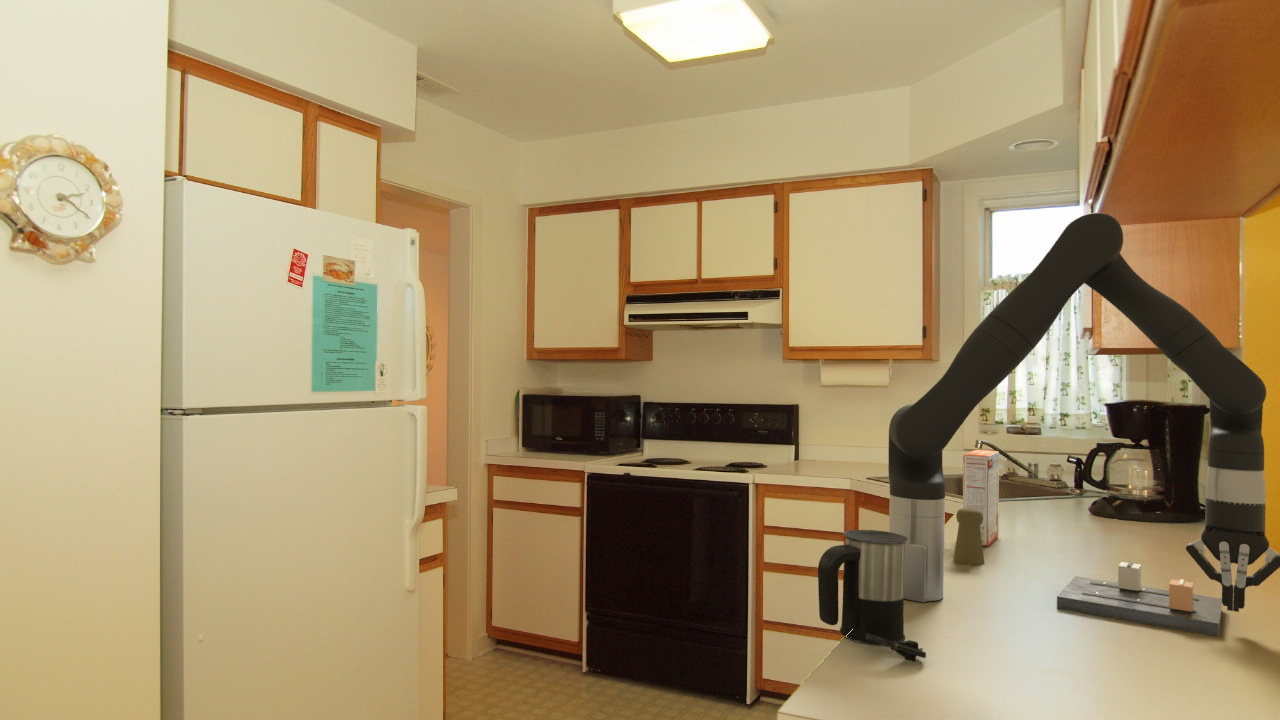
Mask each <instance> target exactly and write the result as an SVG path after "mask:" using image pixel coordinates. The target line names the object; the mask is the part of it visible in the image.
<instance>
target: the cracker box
mask: <svg viewBox="0 0 1280 720" xmlns="http://www.w3.org/2000/svg"><path fill="white" fill-rule="evenodd" d="M962 456H963V458H962V460H963V462H962V463H963V464H962V465H963V467H962V468H963V469H962V470H963V471H962V472H963V473H962V475H963V476H962V477H963V481H962V483H963V485H962V486H963V487H962V488H963V489H962V490H963V491H962V493H963V498H962V499H963V500H962V503H963V504H962V508H973V509H977V510H980V511H981V512H982V514H983V522H982V524H981V525H980V530H981V538H982V547H990V545H992V543H994V542H995V540H996V539H997V538H998V537H999V532H1000V531H999V529H1000V528H999V520H1000V519H999V517H1000V516H999V515H1000V514H999V513H1000V510H999V508H1000V507H999V505H1000V503H999V502H1000V501H999V495H1000V494H999V493H1000V492H999V490H1000V489H999V487H1000V483H999V482H1000V480H999V479H1000V477H999V476H1000V451H998V450H986V449H975V450H972V451H969V452H967V453H964V454H963V455H962Z"/></svg>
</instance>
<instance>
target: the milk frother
mask: <svg viewBox="0 0 1280 720" xmlns="http://www.w3.org/2000/svg"><path fill="white" fill-rule="evenodd" d="M842 534H843V535H844V536H845V544H840V545H833V546H831V547H829V548H828V549H826V550H825V551H824V552H823V554H822V555H821V556H820V559H819V561H818V567H817V579H818V580H817V582H818V585H817V587H818V613H819V619H820V621H821V622H822V623H824V624H827V625H829V626H836V625H838V622H839V615H840V614H839V572H840V571H839V570H840V569H841V567H842V565H843V564H844V567H843V584H842V585H843V588H842V589H843V590H842V593H843V594H842V607H841V608H842V609H841V610H842V611H841V612H842V613H841V626H840V627H839V631H840V634H841V635H842V636H843V637H845V636H846V635H847V634H848V633H849V632H850V631H851V630H852V629H853V630H852V631H851V632H850V633H849V634H848V635H847V637H846V638H847V639H848V640H851V641H854V642H857V643H861V644H866V645H874V646H884V647H887V648H890V649H891V651H894V652H895V653H896V654H898V655H899V656H901V657H903V658H904V660H905V661H909V662H913V663H914V662H916V659H917V657H919V658H923V659H926V657H927V652H926V651H924V649H923V647H919V643H918V641H914V640H907V641H906V635H905V631H904V629H905V628H904V617H905V616H904V608H905V607H904V605H905V603H904V600H905V599H904V573H905V542H906V541H907V540H908V538H907V537H905V536H903V535H899V534H896V533H891V532H889V531H887V530H885V531H884V530H876V529H875V530H874V529H851V530H846V531H844V532H843V533H842Z"/></svg>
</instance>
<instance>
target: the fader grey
mask: <svg viewBox="0 0 1280 720" xmlns="http://www.w3.org/2000/svg"><path fill="white" fill-rule="evenodd" d="M1117 568H1118V577H1117V578H1118V579H1117V580H1118V581H1117V583H1118V588H1123V589H1129V590H1136V591H1139V589H1140V587H1141V586H1142V564H1140V563H1134V562H1133V561H1129V562H1125V561H1121V562H1120V563H1119V565H1118V567H1117Z"/></svg>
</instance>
